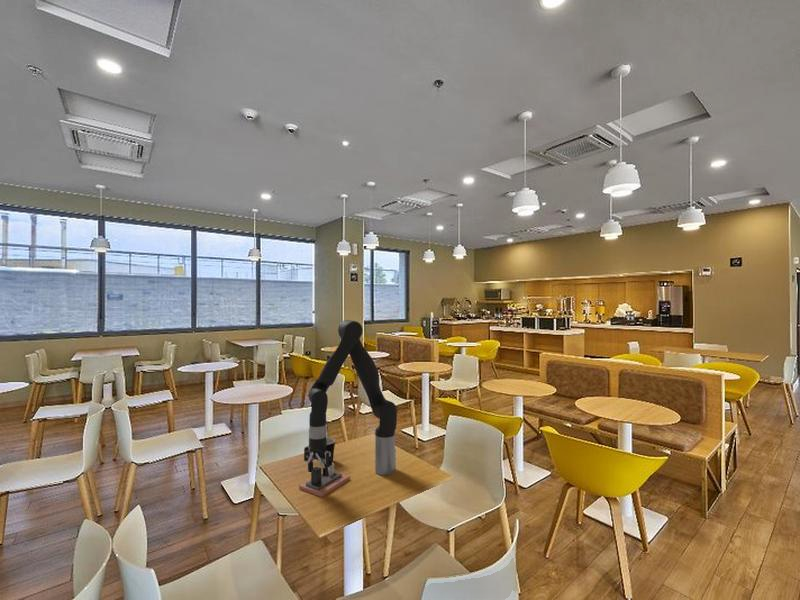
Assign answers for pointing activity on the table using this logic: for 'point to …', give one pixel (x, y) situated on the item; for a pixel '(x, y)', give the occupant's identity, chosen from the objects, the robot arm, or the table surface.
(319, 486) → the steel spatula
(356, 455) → the table surface
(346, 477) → the pink board with peg
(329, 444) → the coffee mug
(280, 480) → the table surface
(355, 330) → the robot arm
